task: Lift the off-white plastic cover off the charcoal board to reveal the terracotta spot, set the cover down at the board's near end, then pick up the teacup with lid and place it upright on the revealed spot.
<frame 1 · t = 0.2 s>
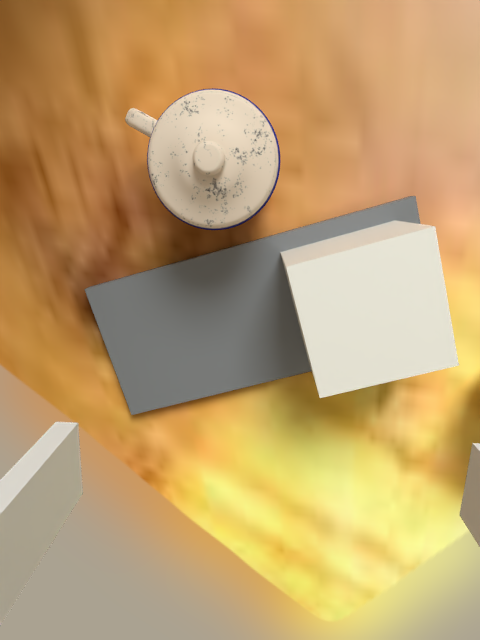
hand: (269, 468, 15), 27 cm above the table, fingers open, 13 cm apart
layout board: (262, 311, 41), on the table
teacup with lid: (208, 162, 38), on the table
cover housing: (349, 291, 39), point 1 cm above the table, touching layout board
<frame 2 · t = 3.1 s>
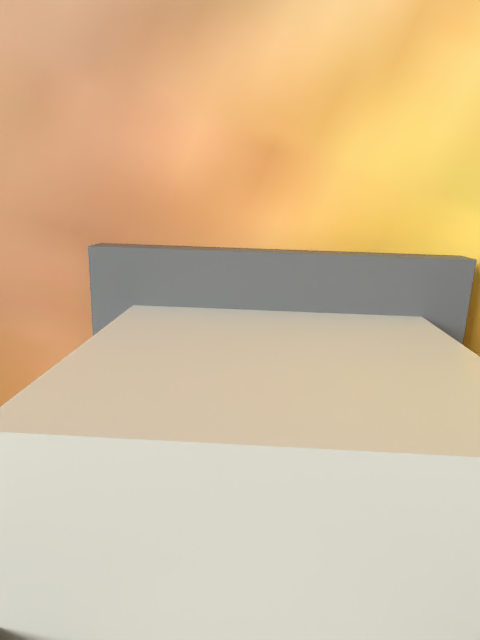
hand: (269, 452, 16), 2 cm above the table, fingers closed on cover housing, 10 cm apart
layout board: (260, 588, 20), on the table
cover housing: (269, 440, 17), point 1 cm above the table, touching gripper, layout board
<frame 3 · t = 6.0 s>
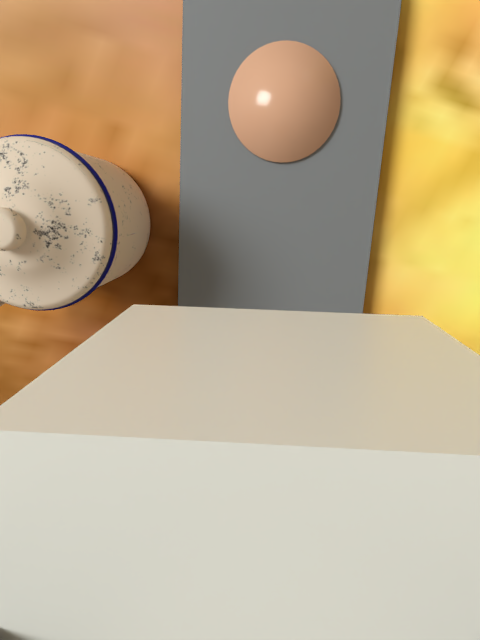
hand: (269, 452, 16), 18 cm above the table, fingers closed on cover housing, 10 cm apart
layout board: (274, 232, 31), on the table
teacup with lid: (79, 235, 32), on the table
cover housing: (269, 439, 17), point 17 cm above the table, touching gripper
when the fingers open (4 cm above the table, at t = 9.4 s): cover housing drops 2 cm, resting on layout board.
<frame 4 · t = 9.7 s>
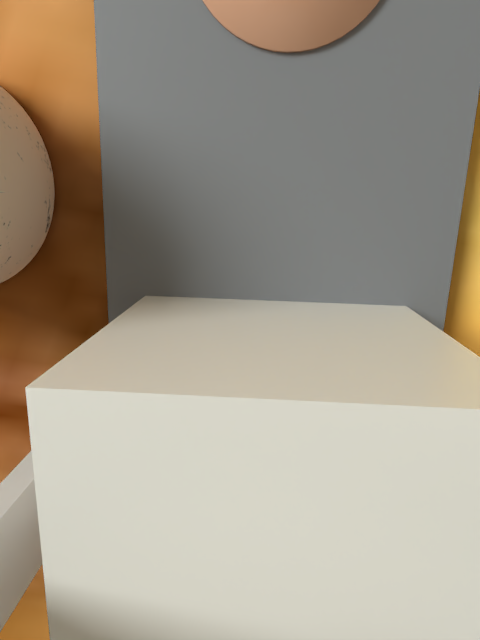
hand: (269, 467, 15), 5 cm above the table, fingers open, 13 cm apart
layout board: (278, 193, 17), on the table
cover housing: (268, 419, 18), point 1 cm above the table, touching layout board
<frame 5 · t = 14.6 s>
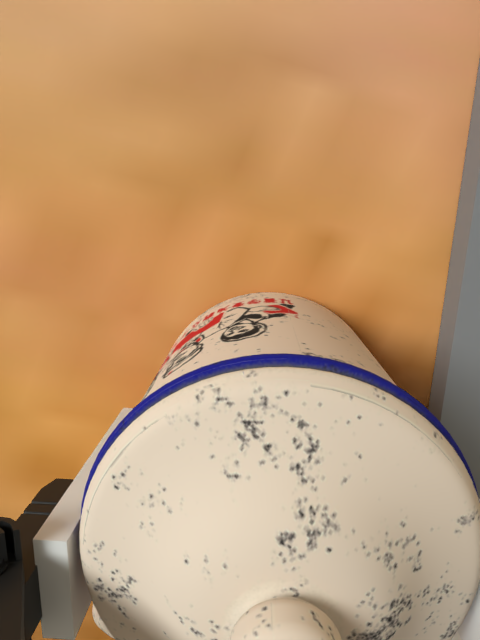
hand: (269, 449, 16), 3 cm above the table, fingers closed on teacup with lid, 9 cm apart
teacup with lid: (241, 412, 19), on the table, touching gripper
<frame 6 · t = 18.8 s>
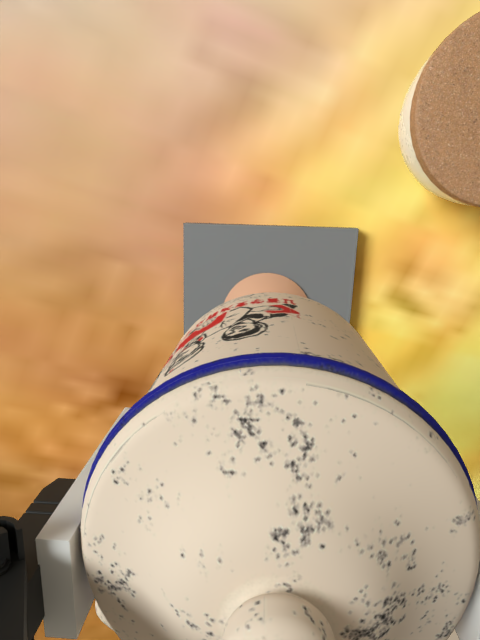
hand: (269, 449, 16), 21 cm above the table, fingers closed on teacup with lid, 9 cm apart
layout board: (262, 404, 38), on the table
teacup with lid: (245, 411, 19), point 18 cm above the table, touching gripper
lidded jar: (454, 132, 32), on the table
when the fingers open (5 cm above the table, at t = 23.1 s): teacup with lid stays where it is, resting on layout board.
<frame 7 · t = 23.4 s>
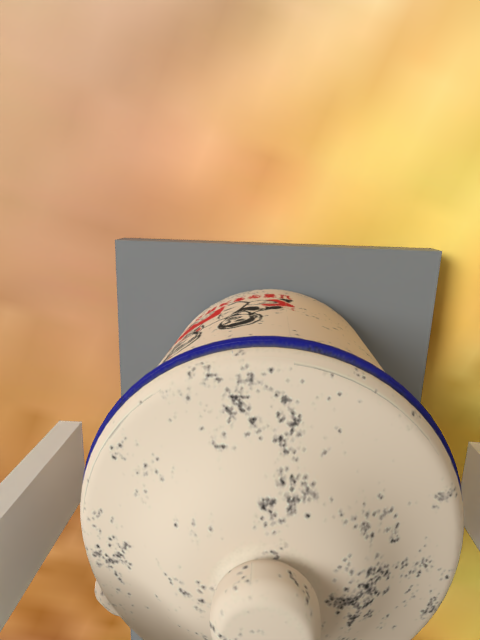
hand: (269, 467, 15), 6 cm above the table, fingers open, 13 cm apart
layout board: (260, 540, 23), on the table
teacup with lid: (244, 406, 19), point 1 cm above the table, touching layout board
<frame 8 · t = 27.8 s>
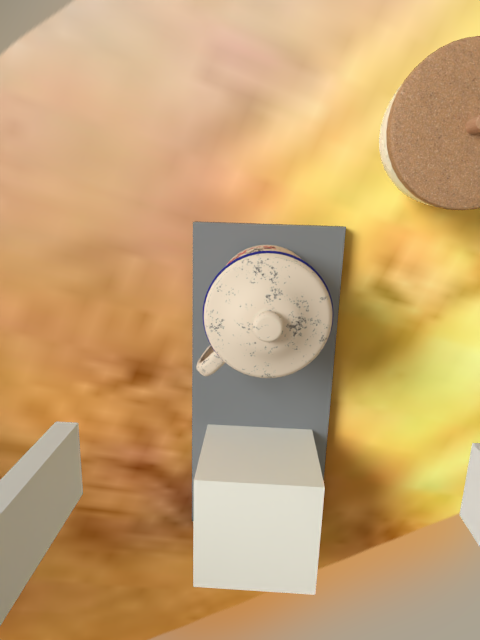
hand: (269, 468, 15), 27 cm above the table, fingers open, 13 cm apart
layout board: (261, 383, 43), on the table
teacup with lid: (254, 304, 40), point 1 cm above the table, touching layout board
lidded jar: (428, 143, 37), on the table
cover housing: (257, 472, 44), point 1 cm above the table, touching layout board
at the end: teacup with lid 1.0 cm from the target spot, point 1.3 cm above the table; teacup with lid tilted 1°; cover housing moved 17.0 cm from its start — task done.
